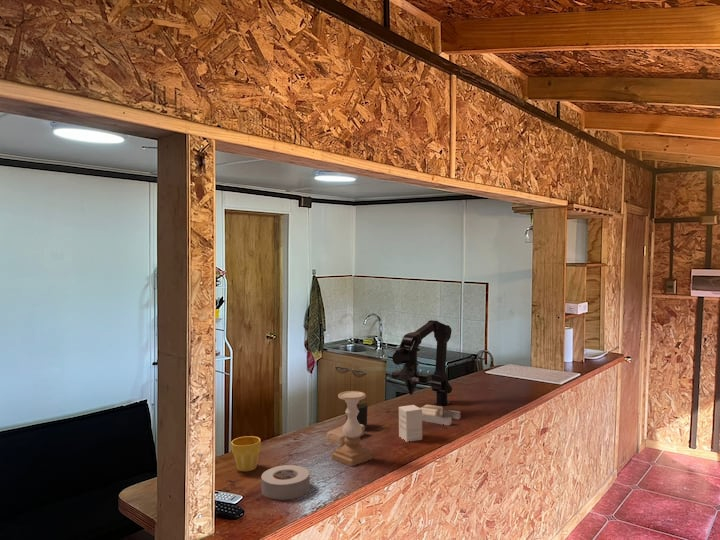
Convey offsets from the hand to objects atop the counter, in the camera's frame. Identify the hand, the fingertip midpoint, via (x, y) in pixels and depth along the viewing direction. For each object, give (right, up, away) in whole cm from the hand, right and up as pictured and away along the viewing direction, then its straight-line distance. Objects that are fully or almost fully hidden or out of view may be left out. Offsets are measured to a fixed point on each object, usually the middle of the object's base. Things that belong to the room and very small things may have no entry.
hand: (411, 394), depth 257 cm
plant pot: (-64, -12, -63) cm, 91 cm away
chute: (+11, -9, -7) cm, 16 cm away
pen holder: (-25, -10, -19) cm, 33 cm away
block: (+9, -10, -6) cm, 14 cm away
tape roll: (-48, -12, -81) cm, 95 cm away
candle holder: (-27, -11, -55) cm, 62 cm away
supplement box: (-3, -11, -33) cm, 35 cm away
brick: (-30, -11, -33) cm, 46 cm away
